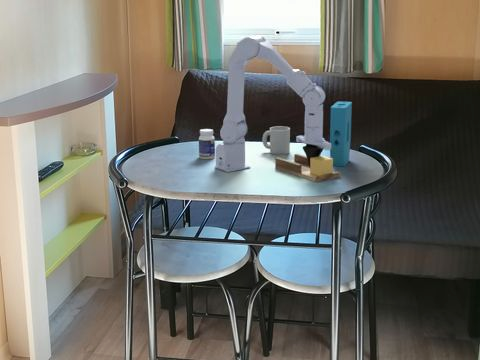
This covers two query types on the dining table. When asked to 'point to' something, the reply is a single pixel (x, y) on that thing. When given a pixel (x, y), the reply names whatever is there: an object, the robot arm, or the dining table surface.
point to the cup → (278, 140)
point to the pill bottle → (206, 144)
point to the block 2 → (340, 132)
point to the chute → (302, 168)
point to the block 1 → (321, 165)
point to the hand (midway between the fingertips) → (312, 167)
